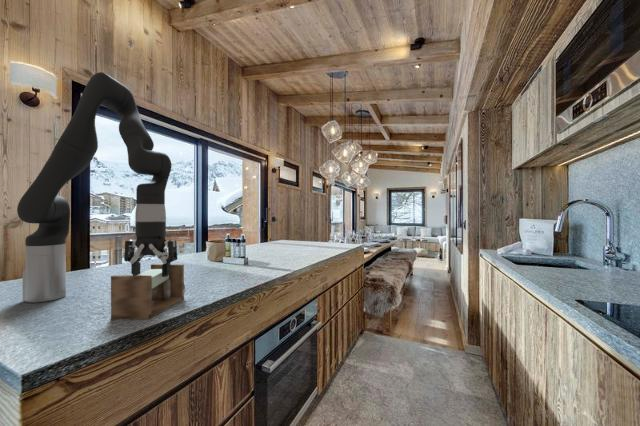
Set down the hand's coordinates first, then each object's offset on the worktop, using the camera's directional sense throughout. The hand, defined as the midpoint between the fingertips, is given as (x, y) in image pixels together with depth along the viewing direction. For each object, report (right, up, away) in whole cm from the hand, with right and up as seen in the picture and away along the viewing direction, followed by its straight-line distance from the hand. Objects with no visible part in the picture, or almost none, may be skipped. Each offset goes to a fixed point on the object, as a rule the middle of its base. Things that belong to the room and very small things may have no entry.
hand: (151, 276), depth 81 cm
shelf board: (0, -2, 0) cm, 2 cm away
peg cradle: (0, -9, 0) cm, 9 cm away
